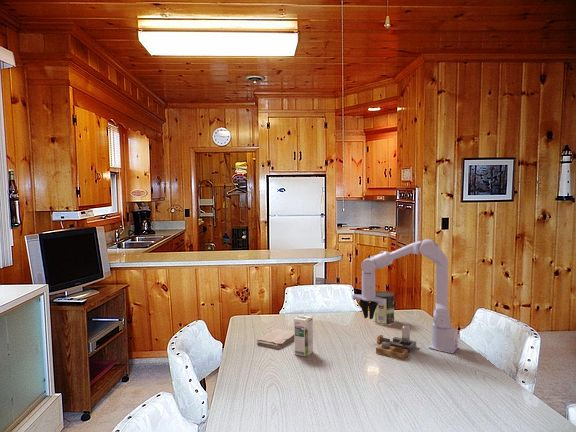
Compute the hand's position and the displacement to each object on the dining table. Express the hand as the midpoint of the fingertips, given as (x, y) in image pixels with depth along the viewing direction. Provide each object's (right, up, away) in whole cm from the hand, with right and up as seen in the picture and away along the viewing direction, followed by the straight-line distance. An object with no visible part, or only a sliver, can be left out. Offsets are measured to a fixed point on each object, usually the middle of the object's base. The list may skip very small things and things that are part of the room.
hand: (368, 318), depth 164 cm
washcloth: (-39, -11, +2) cm, 40 cm away
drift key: (+6, -10, -4) cm, 12 cm away
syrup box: (-28, -11, -13) cm, 33 cm away
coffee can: (+12, -8, +23) cm, 27 cm away
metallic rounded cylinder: (+13, -10, -10) cm, 19 cm away
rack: (+6, -10, -15) cm, 19 cm away
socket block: (+12, -10, -8) cm, 17 cm away
